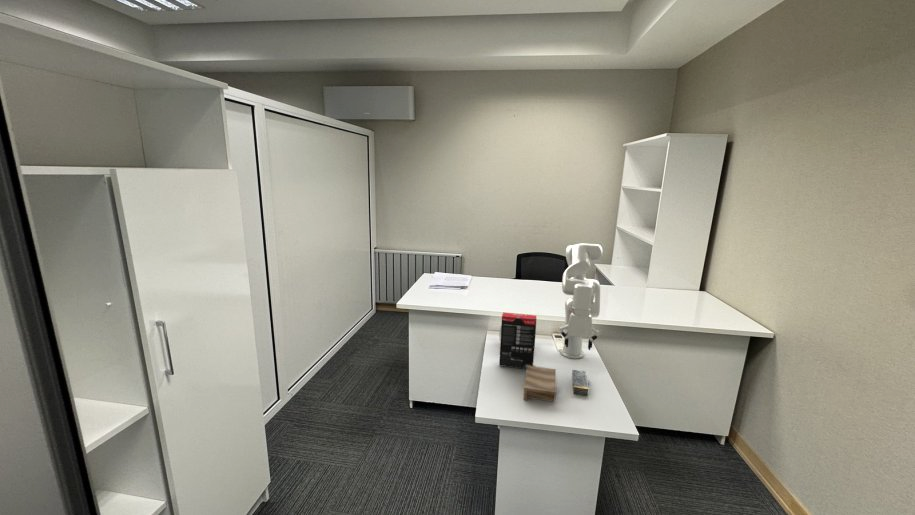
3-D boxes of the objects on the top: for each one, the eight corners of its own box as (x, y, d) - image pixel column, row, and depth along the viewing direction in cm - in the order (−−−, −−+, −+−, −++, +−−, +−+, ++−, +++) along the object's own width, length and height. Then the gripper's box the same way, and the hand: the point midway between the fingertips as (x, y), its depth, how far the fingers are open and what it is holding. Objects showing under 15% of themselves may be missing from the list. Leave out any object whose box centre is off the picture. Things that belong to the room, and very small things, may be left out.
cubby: (526, 377, 179) (527, 365, 178) (554, 381, 176) (555, 369, 174) (523, 400, 160) (524, 387, 159) (554, 405, 157) (555, 392, 155)
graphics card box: (533, 364, 191) (536, 313, 186) (533, 370, 185) (536, 318, 179) (500, 360, 195) (502, 311, 189) (498, 367, 188) (501, 315, 182)
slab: (571, 376, 180) (572, 369, 180) (584, 378, 179) (585, 371, 178) (573, 394, 165) (573, 387, 164) (587, 396, 164) (588, 389, 163)
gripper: (561, 312, 164) (558, 348, 167) (602, 316, 160) (599, 353, 163) (560, 307, 171) (557, 342, 174) (600, 310, 167) (597, 346, 170)
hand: (577, 347), depth 169 cm, fingers open, 9 cm apart
